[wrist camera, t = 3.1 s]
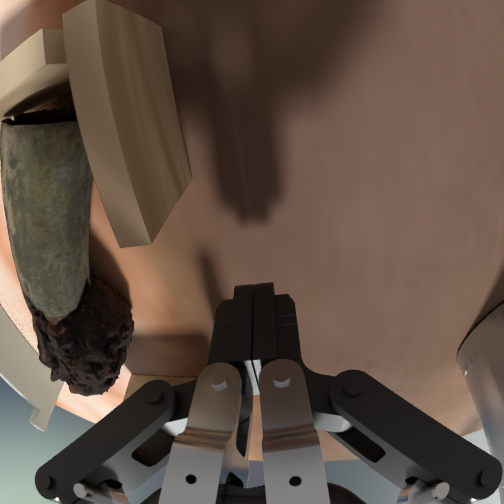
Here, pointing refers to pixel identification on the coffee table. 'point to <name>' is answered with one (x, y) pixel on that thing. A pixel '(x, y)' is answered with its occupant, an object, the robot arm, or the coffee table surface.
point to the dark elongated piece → (60, 251)
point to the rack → (27, 372)
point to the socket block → (110, 114)
